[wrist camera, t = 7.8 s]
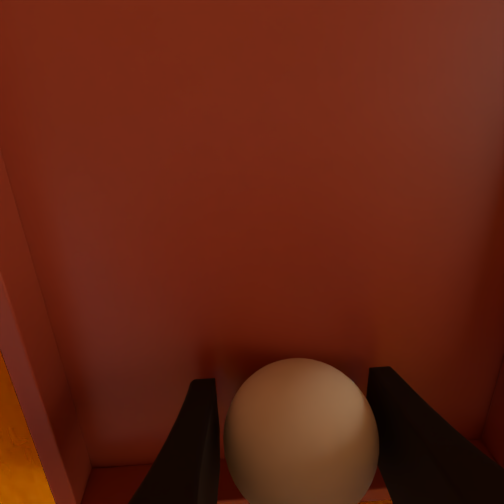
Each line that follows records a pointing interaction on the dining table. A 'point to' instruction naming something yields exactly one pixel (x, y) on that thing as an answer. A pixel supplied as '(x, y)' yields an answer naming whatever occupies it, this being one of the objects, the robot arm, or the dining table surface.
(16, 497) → the dining table surface
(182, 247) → the tray
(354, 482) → the ball
